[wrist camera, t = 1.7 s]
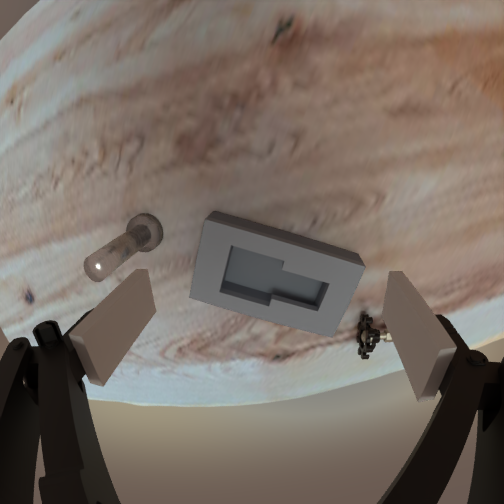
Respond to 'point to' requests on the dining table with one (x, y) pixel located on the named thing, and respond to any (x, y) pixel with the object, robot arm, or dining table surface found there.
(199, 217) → the dining table surface
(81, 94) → the dining table surface
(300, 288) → the keyhole board
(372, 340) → the valve
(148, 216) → the flanged metal peg
